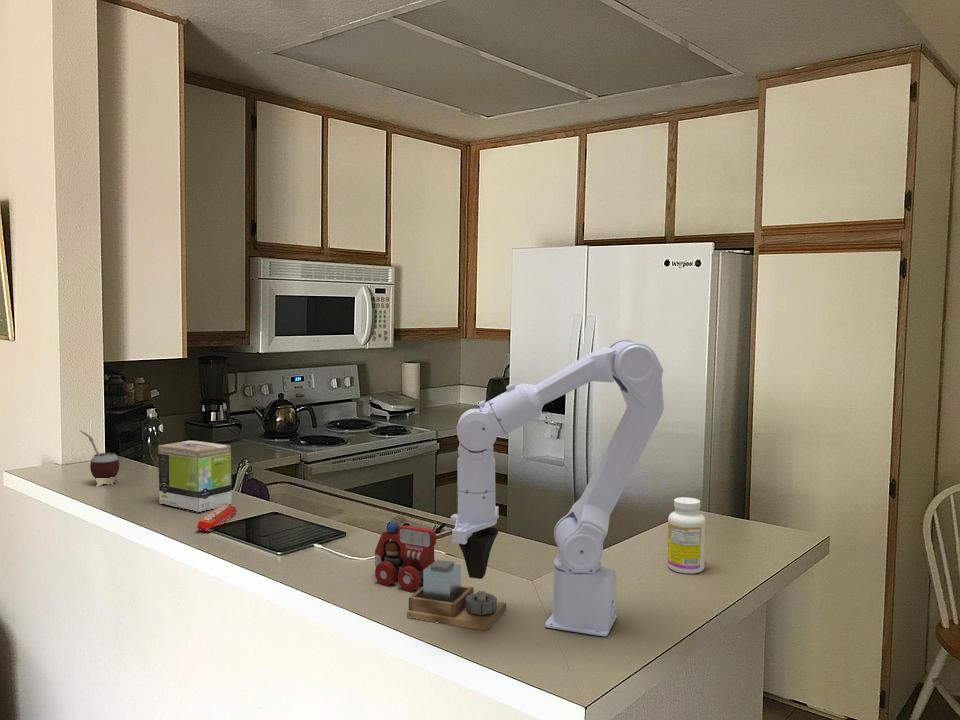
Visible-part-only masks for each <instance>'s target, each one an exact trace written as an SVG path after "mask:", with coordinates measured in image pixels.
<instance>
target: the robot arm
mask: <svg viewBox="0 0 960 720" xmlns="http://www.w3.org/2000/svg"><path fill="white" fill-rule="evenodd" d="M663 373H664V368H663V367H662V364H661V361H660V360H659V358H658V356H657V354H656V352H655V351H654V349H652V348H651V347H650V346H649V345H647V344H646V343H645V344H644V343H642V342H634V341H633V340H629V339H619V340H617V341H615V342H613V343H612V344H611V345H609V346H603V347H601V348H598V349H596V350H594V351H592V352H590V353H588V354H586V355H584V356H582V357H581V358H579V359H577V360H575V361H574V362H573V363H570V364H568V365H567V366H566V367H563V368H562V369H560V370H558V371H557V372H555V373H553V374H552V375H550V376H549V377H547V378H545V379H544V380H542V381H540V382H538V383H537V384H535V385H530V384H527V383H519V384H517V385H515V383H510V384H508V385H506V387H505V389H506V391H505V392H502V393H500V394H498V395H497V396H495V397H493V398H491V399H490V400H488V401H485V400H484V399H483V400H481V401H479V402H478V406H479V408H470V409H467V410H466V411H465V412H463V413H462V414H461V415H460V417H459V419H458V422H457V425H456V435H457V440H458V441H459V443H458V444H459V445H458V446H457V454H458V457H457V462H456V464H457V513H454V514H452V515H451V516H450V521H451V522H455V525H454V528H452V530H451V542H452V544H457V545H458V546H459V549H460V550H461V552H462V554H463V558H464V563H465V567H466V570H467V574H468V577H469V578H470V579H478V580H482V579H483V578H485V575H486V572H487V569H488V568H487V567H488V564H489V563H488V562H489V559H490V558H489V557H490V555H491V550H492V547H493V546H494V542H495V540H496V538H497V536H498V534H499V529H498V528H497V527H493V526H496V524H497V523H498V521H497V520H498V519H500V518H499V511H500V510H499V508H500V507H499V506H498V505H497V506H496V458H495V456H494V444H495V442H496V440H497V437H505V436H507V435H509V434H510V433H512V432H514V431H516V430H517V429H520V428H522V427H523V426H525V425H527V424H528V423H530V422H533V421H534V420H537V419H538V418H539V417H541V413H542V410H543V407H544V406H545V405H546V404H548V403H550V402H552V401H554V400H556V399H558V398H560V397H562V396H564V395H566V394H568V393H570V392H572V391H574V390H577V389H578V388H580V387H583V386H585V385H586V384H589V383H591V382H601V383H602V382H603V383H614V382H615V383H616V384H617V386H618V387H619V388H620V389H619V391H620V392H621V394H622V396H623V400H624V402H625V405H626V409H625V411H624V413H623V415H622V416H621V419H620V420H619V423H618V425H617V427H616V428H615V430H614V431H613V434H612V436H611V438H610V440H609V442H608V444H607V446H606V448H605V449H604V452H603V454H602V455H601V458H600V460H599V461H598V463H597V465H596V468H595V470H594V471H593V473H592V475H591V477H590V479H589V481H588V483H587V485H586V487H585V488H584V491H583V493H582V494H581V497H579V499H578V500H577V501H576V502H575V503H574V504H573V505H572V506H571V508H570V510H569V511H568V513H567V514H566V515H564V516H562V518H560V519H559V520H558V522H557V523H556V524H555V526H554V529H553V538H554V539H553V540H554V542H555V544H556V546H557V548H558V549H559V550H558V552H557V555H556V557H554V559H553V577H552V578H553V584H552V586H553V587H552V588H553V589H552V613H551V615H550V616H549V617H548V619H547V620H546V621H545V623H544V627H545V628H548V629H549V628H550V629H554V630H555V629H556V630H561V631H568V632H575V633H580V634H587V635H592V636H593V635H594V636H597V637H599V636H601V637H607V636H608V635H609V633H610V631H611V629H612V627H613V625H614V623H615V621H616V620H617V617H618V616H617V572H616V570H615V569H611V568H607V567H605V566H603V565H602V561H601V560H602V558H603V553H604V547H603V545H604V540H605V539H606V537H607V535H608V531H609V526H610V518H611V514H612V513H613V512H614V511H613V510H614V509H615V507H616V505H617V503H618V501H619V499H620V497H621V495H622V493H623V491H624V489H625V488H626V485H627V484H628V481H629V479H630V478H631V476H632V473H633V472H634V470H635V468H636V465H637V464H638V462H639V460H640V458H641V457H642V454H643V452H644V450H645V448H646V447H647V444H648V442H649V440H650V439H651V436H652V434H653V433H654V431H655V429H656V427H657V425H658V423H659V422H660V419H661V417H662V416H663V412H664V408H665V406H664V393H663V379H662V378H663Z"/></svg>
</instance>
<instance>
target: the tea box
mask: <svg viewBox="0 0 960 720" xmlns="http://www.w3.org/2000/svg"><path fill="white" fill-rule="evenodd" d="M157 448H158V450H157V453H158V455H157V456H158V457H157V458H158V488H159V489H158V490H159V491H158V495H159V497H158V498H159V501H160V500H161V501H163V502H167V503H170V504H174V505H177V506H181V507H184V508H188V509H191V510H195V511H202V510H206V509H210V508H215V507H219V506H221V505H223V504H227V505H228V504H231V505H232V498H233V497H232V452H231V450H232V449H231V445H230V444H225V443H224V444H223V443H217V442H210V441H209V442H208V441H201V440H200V441H199V440H186V441H177V442H172V443H165V444H159V445H158V447H157Z"/></svg>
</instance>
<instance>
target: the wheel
mask: <svg viewBox="0 0 960 720" xmlns="http://www.w3.org/2000/svg"><path fill="white" fill-rule="evenodd" d="M497 601H498V597H497V596H495V595H494V594H492V593H487V592H486V601H477V592H476V593H474V594H471V595H468V596H467V597H466V610H467V611H468V612H469V613H473V614H479V615H481V614H482V615H484V614H490V613H492V612H494V611H495V610H496V609H497Z"/></svg>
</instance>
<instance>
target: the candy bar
mask: <svg viewBox="0 0 960 720" xmlns="http://www.w3.org/2000/svg"><path fill="white" fill-rule="evenodd" d="M236 512H237V508H236V506H233V505H232V504H231V505H227V504H223V505H221V506H219V507H218V508H217V509H213V510H211V511H210V512H209V513H208V514H206V515H204V517H202V518H201V519H199V521H198V524H197V525H196V526H197V530H199V529H201V530H200V531H202V530H207V531H208V530H209V529H210V528H212V527H215V526H217V525H220V524H221V523H223V522H224V521H226V520H227V519H229V518H230V517H232V516H233V515H234V514H235V515H236ZM235 515H234V516H235ZM234 516H233V517H234ZM233 517H232V518H233ZM230 519H231V518H230ZM230 519H229V520H230ZM226 522H227V521H226Z"/></svg>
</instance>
